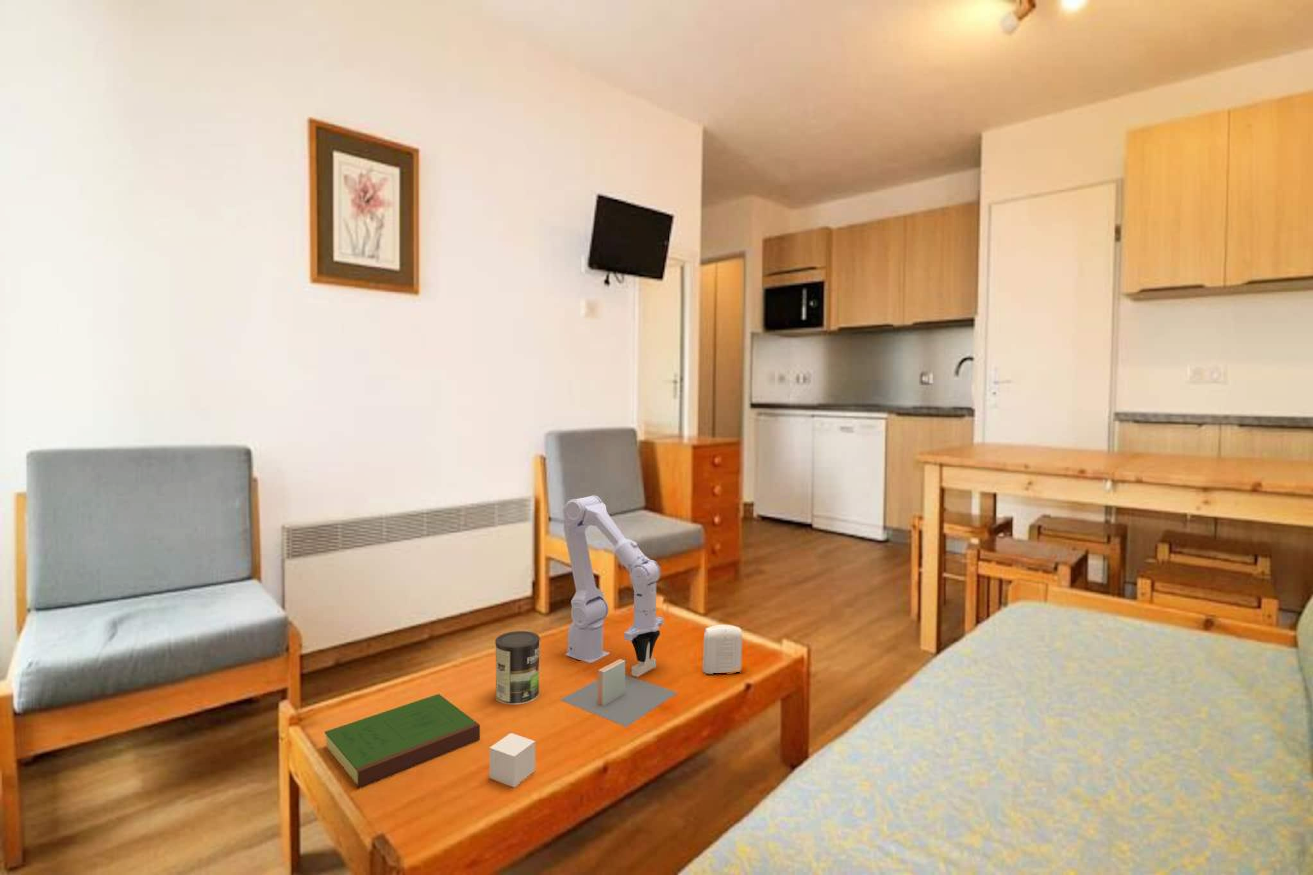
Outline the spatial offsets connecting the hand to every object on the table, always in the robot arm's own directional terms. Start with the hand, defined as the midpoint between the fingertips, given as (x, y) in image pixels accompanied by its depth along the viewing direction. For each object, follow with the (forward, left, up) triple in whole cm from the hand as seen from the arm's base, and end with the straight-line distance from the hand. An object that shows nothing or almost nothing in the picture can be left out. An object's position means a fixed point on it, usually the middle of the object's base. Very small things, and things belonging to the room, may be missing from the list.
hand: (644, 659), depth 166 cm
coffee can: (-16, -29, -4) cm, 33 cm away
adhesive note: (+7, -51, -4) cm, 52 cm away
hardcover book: (-19, -57, -4) cm, 60 cm away
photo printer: (+16, +13, -4) cm, 21 cm away
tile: (+3, -17, -3) cm, 18 cm away
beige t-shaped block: (0, 0, -3) cm, 3 cm away
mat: (+4, -15, -3) cm, 16 cm away
